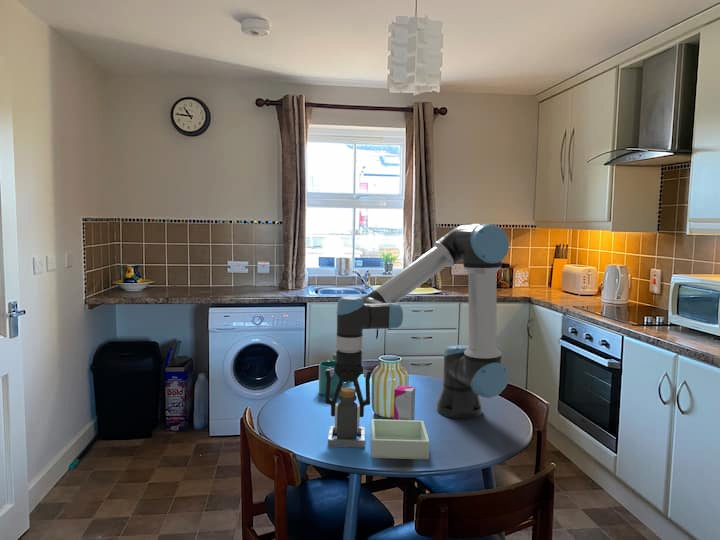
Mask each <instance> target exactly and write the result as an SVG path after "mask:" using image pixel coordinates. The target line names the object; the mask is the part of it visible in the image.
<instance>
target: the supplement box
mask: <svg viewBox="0 0 720 540" xmlns="http://www.w3.org/2000/svg"><path fill="white" fill-rule="evenodd" d="M393 393H394V394H393V418H392V420H415V411H416V409H415V408H416V406H415V405H416V387H415V386H409V385H400V386H399V385H398V386H397V387H395V388H394V390H393Z"/></svg>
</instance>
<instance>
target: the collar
mask: <svg viewBox="0 0 720 540" xmlns="http://www.w3.org/2000/svg"><path fill="white" fill-rule="evenodd" d="M365 427H366V426H359V429H357V435H360V438H357V439H337V437H336V438H333V437H334V435H335V434H336V435H337V428H335V425H330V426H329V429H328V430H329V431H328V437H327V447H334V448H335V447H336V448H365V446H366V445H365V444H366V443H365V442H366V438H365V436H366V435H365V434H366V433H365V431H366V430H365V429H366V428H365Z"/></svg>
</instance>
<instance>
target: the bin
mask: <svg viewBox="0 0 720 540" xmlns="http://www.w3.org/2000/svg"><path fill="white" fill-rule="evenodd" d="M370 420H371V422H370V423H371V424H370V425H371V426H370V443H371V444H370V447H371V449H370V450H371V458H372V459H402V460H405V459H406V460H407V459H408V460H430V440H429V436H428V431H427V429H426V426H425V421H424V420H415V419H414V420H393V419H384V418H383V419H382V418H381V419H380V418H379V419H377V418H372V419H370Z"/></svg>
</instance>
